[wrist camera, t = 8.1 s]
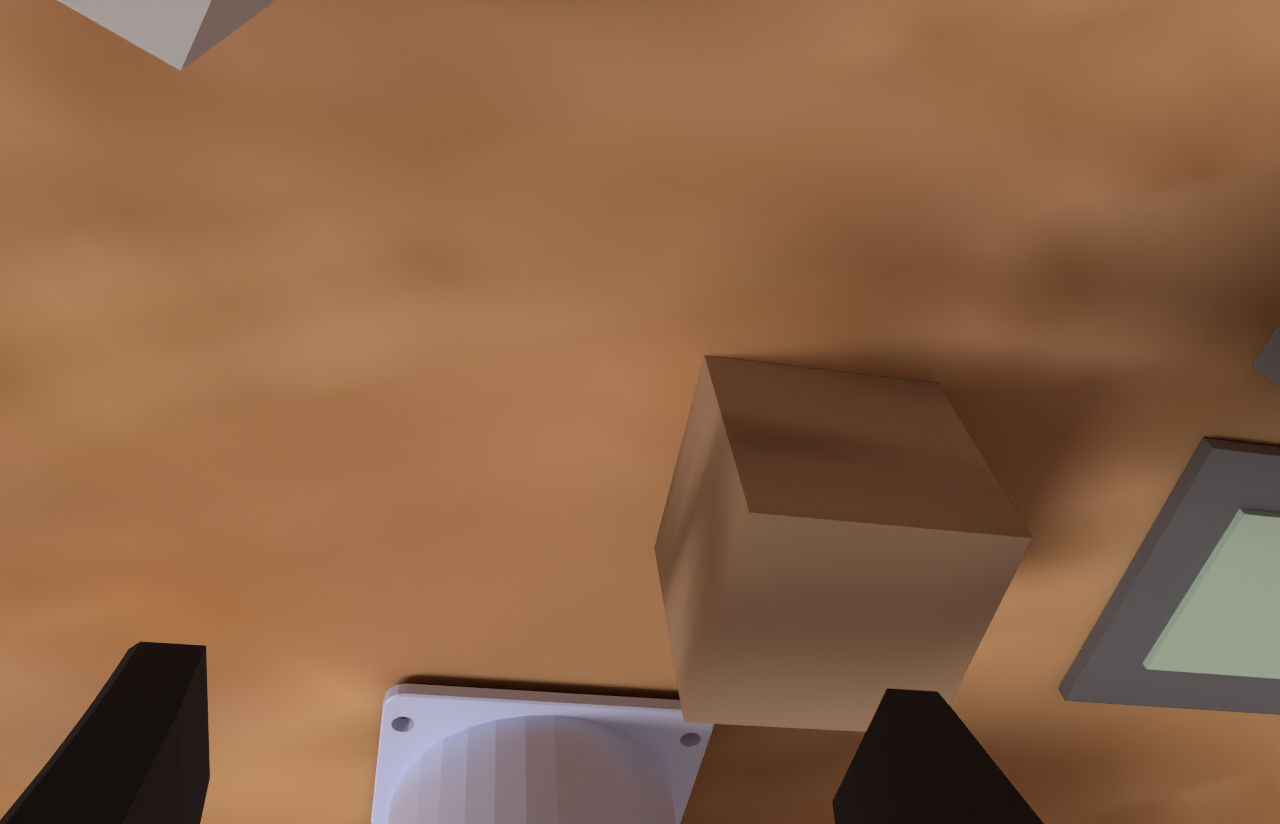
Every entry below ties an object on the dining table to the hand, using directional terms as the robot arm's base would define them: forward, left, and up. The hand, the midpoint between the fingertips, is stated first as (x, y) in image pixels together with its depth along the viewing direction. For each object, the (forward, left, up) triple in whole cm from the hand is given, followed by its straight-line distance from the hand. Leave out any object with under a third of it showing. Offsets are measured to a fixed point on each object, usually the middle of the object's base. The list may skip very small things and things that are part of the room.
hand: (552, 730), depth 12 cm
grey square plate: (-6, -19, -10) cm, 22 cm away
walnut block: (-4, -6, -11) cm, 13 cm away
